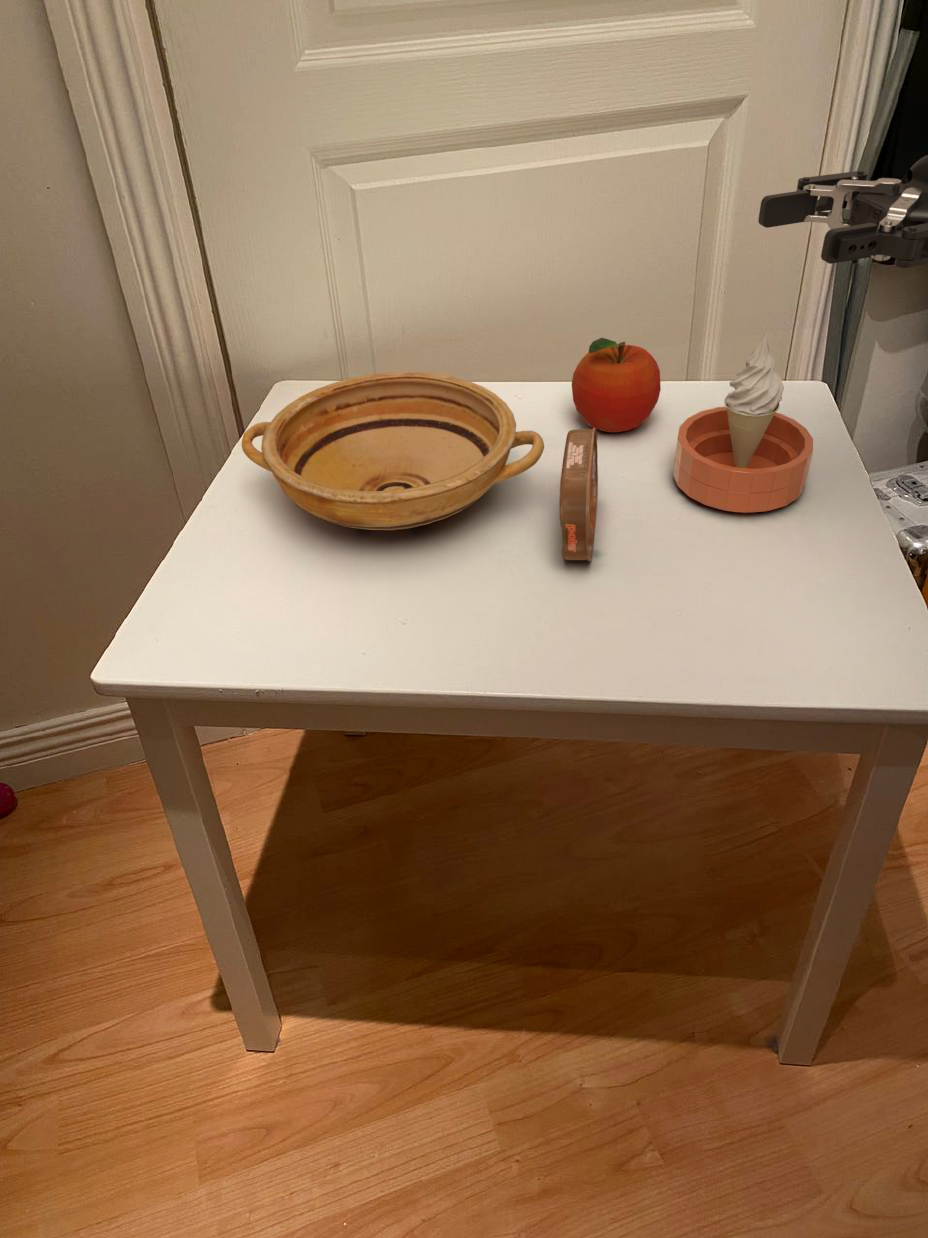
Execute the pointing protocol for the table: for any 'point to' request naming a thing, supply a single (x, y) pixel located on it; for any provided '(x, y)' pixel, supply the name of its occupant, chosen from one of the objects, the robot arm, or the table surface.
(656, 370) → the fruit
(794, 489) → the pot
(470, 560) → the table surface
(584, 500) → the tin
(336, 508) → the ceramic bowl
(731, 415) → the ice cream cone
